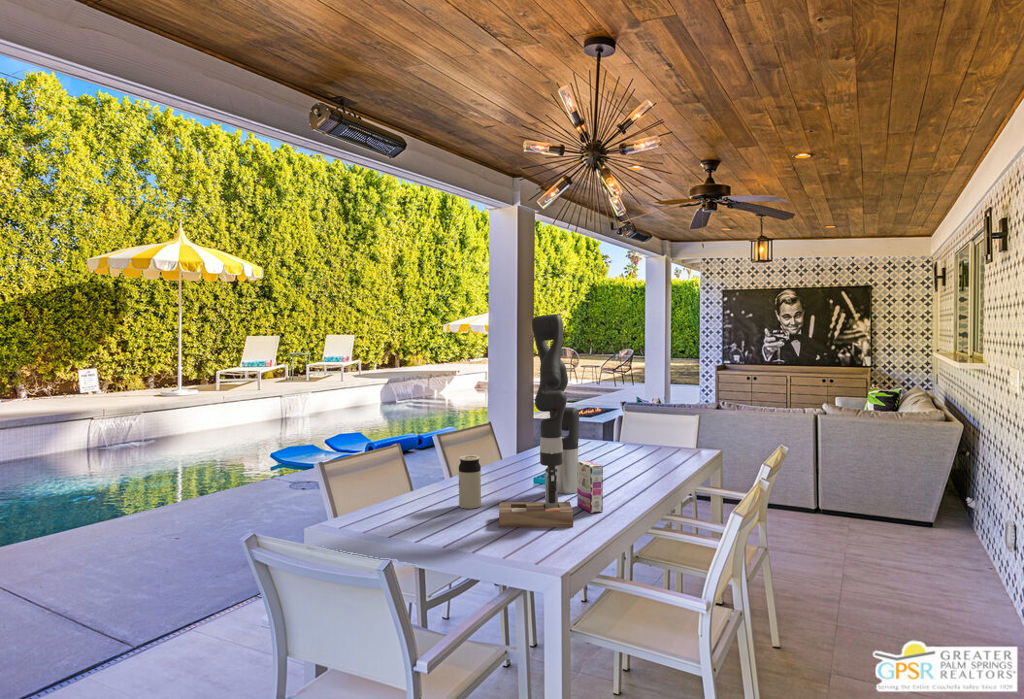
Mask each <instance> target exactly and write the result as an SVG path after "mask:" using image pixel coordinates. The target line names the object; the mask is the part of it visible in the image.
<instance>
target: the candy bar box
mask: <svg viewBox="0 0 1024 699" xmlns="http://www.w3.org/2000/svg"><path fill="white" fill-rule="evenodd" d="M603 467H604V466H603V465H600V464H598V463H595V462H593V461H590V460H581V461H579V460H578V462H577V492H576V493H577V494H576V495H577V497H576V500H577V504H576V505H577V507H578V508H581V509H582V510H584V511H586V512H588V513H590V514H597V513H599V512H600V513H603V510H604V509H603V508H604V507H603V504H604V503H603V502H604V499H603V496H604V494H603V493H604V492H603V489H604V487H603V485H604V484H603V483H604V482H603V481H604V479H603V478H604V477H603V476H604V474H603V473H604V472H603V471H604V470H603V469H604V468H603Z"/></svg>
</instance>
